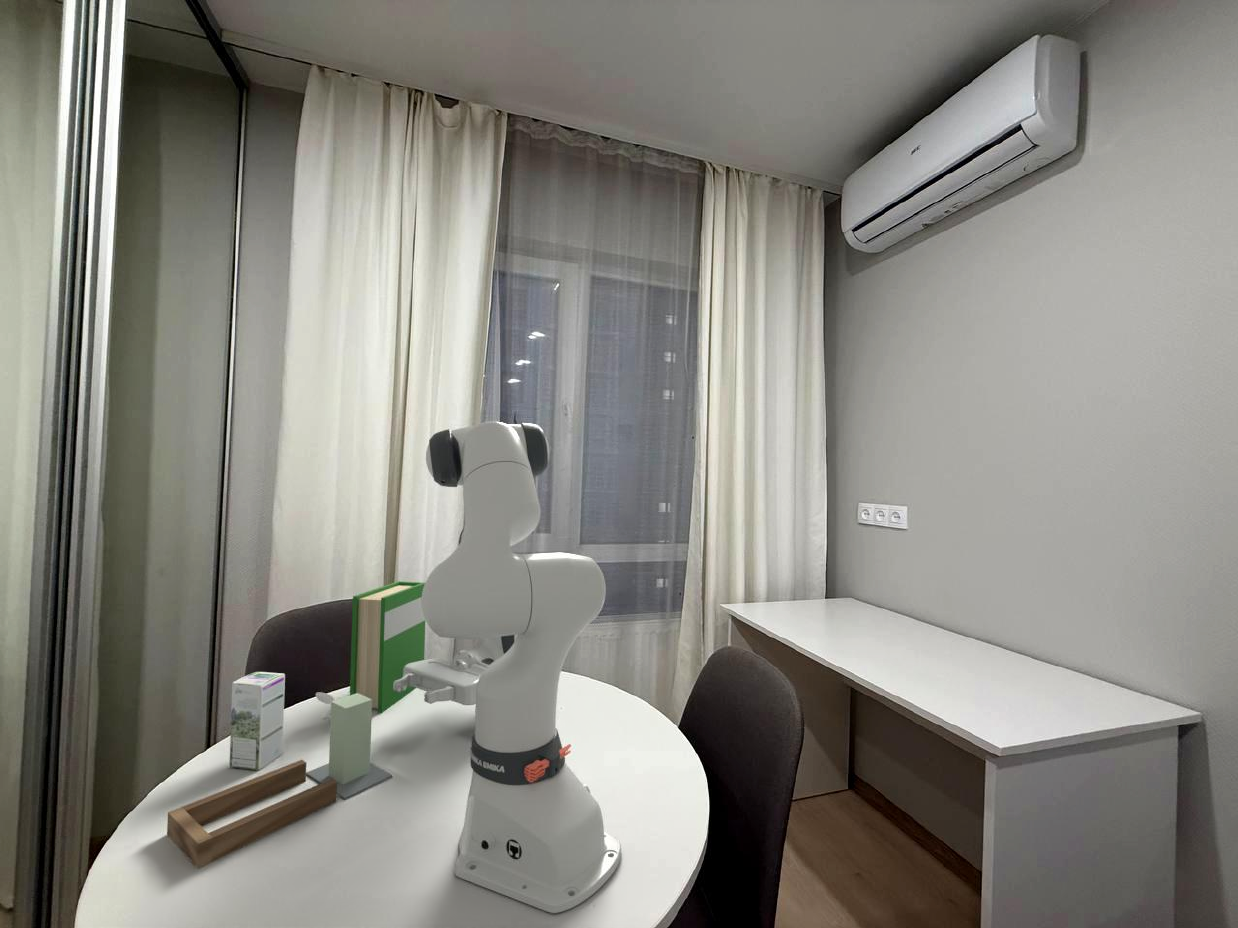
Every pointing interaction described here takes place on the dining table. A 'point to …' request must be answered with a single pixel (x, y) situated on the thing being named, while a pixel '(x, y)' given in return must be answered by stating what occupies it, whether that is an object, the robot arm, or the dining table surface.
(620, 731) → the dining table surface
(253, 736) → the syrup box
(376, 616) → the hardback book
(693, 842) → the dining table surface
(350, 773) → the sage block
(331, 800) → the frame
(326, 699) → the rabbit figurine
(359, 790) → the mat
